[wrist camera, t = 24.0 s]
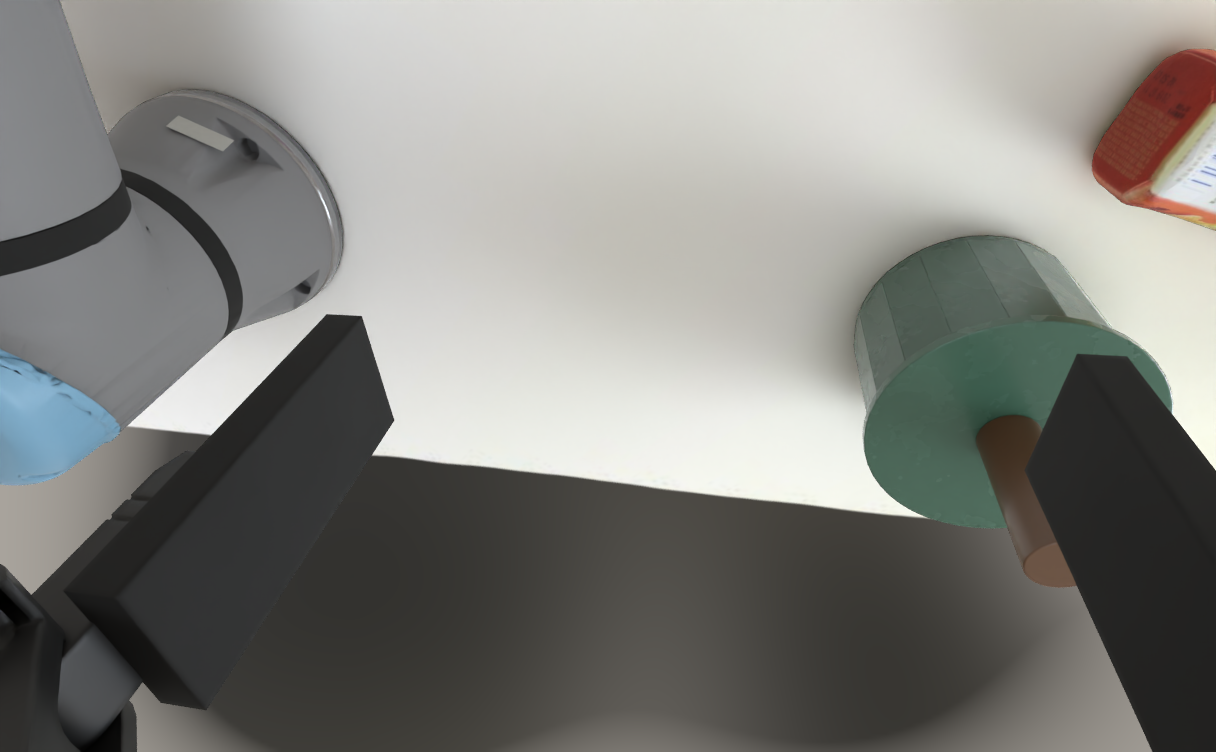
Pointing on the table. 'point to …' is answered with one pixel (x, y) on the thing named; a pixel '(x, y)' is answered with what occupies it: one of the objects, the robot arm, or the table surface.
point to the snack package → (1166, 141)
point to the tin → (959, 299)
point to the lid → (986, 425)
